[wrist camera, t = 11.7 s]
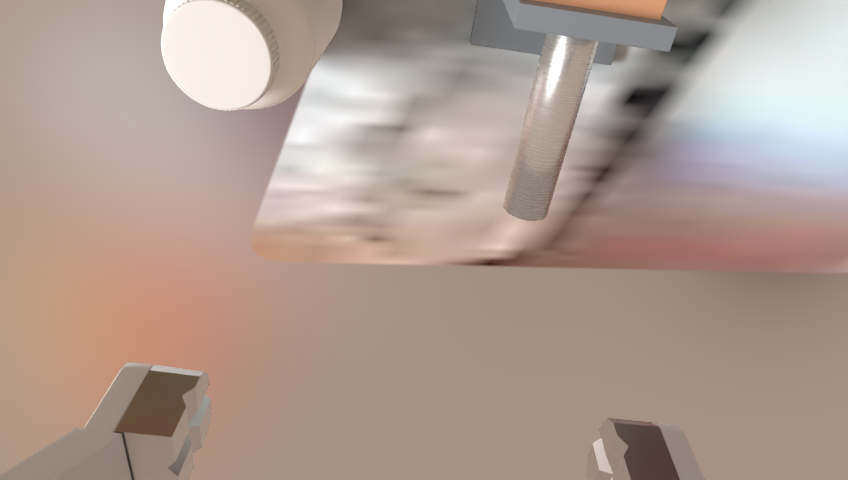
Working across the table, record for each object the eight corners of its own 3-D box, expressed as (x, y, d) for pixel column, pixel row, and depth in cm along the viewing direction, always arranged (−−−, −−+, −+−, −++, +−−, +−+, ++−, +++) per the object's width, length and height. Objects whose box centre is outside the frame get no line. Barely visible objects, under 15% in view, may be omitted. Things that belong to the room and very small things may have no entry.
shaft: (574, -101, 31) (586, -97, 28) (629, -92, 31) (645, -87, 28) (501, 195, 40) (505, 217, 38) (543, 200, 41) (550, 223, 38)
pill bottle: (333, -76, 37) (278, -41, 25) (352, 50, 42) (315, 134, 29) (213, -64, 38) (101, -24, 25) (245, 59, 42) (162, 145, 30)
